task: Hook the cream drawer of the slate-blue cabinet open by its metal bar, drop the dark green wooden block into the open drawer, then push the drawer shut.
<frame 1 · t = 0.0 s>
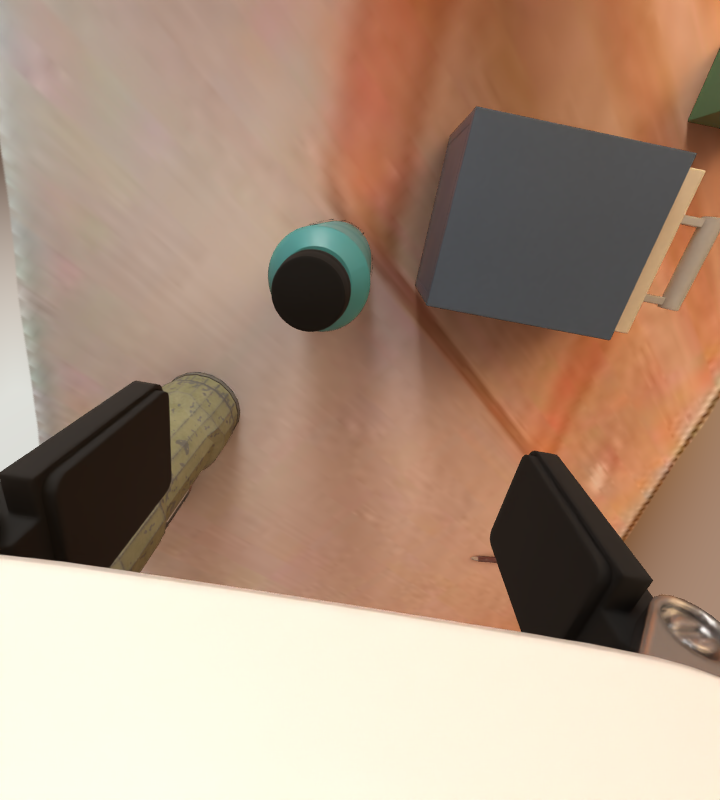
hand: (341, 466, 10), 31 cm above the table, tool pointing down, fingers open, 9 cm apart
beverage bottle: (339, 256, 38), on the table
drawer: (582, 244, 32), point 5 cm above the table, slide at 0.5 cm
pen: (511, 557, 54), on the table
cabinet: (508, 231, 36), on the table
thermos: (203, 407, 45), on the table
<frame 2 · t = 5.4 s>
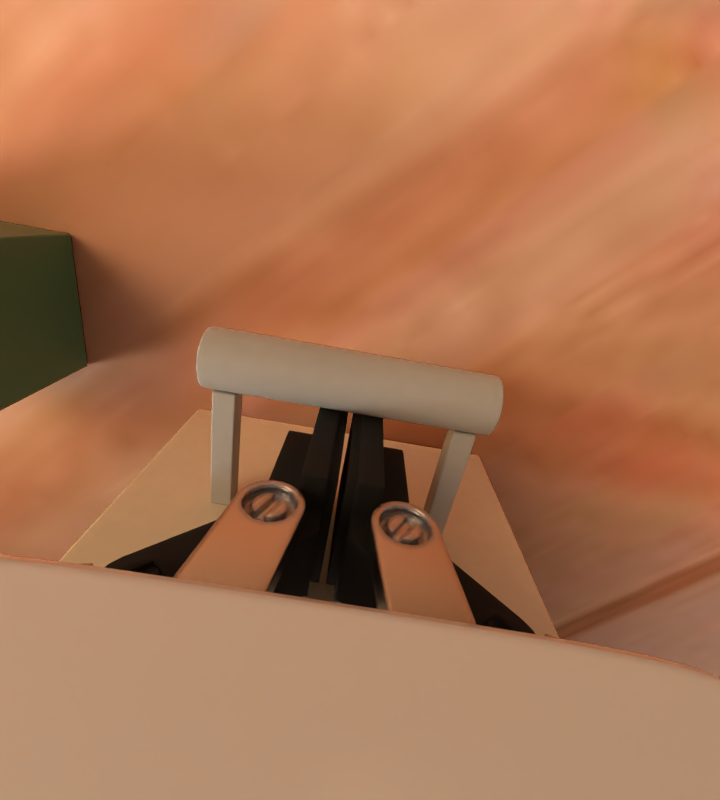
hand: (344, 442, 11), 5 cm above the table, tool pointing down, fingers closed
block: (12, 292, 15), on the table
drawer: (314, 588, 14), point 5 cm above the table, slide at 2.5 cm
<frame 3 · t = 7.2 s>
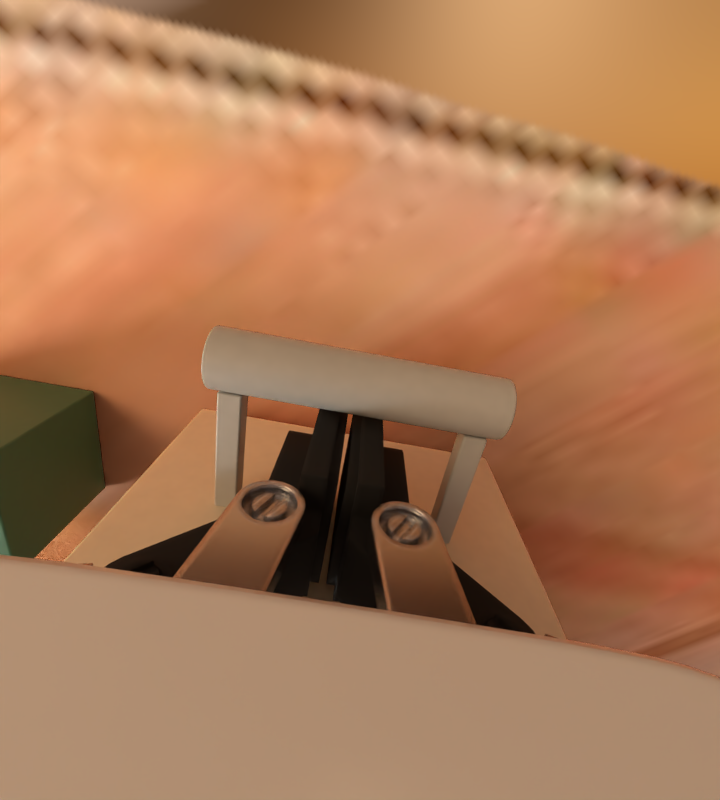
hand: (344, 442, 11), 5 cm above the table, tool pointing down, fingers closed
block: (42, 432, 17), on the table
drawer: (318, 592, 14), point 5 cm above the table, slide at 8.6 cm
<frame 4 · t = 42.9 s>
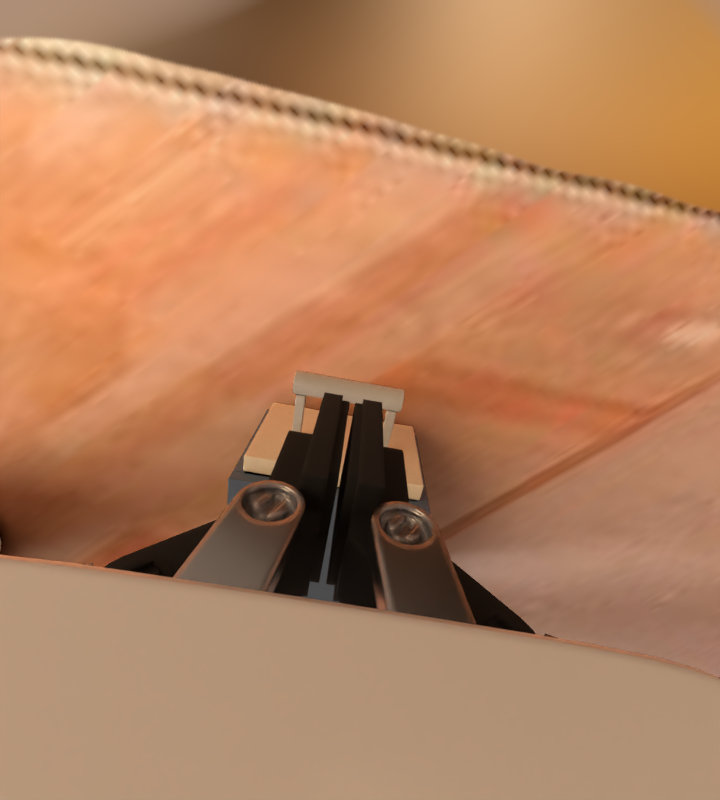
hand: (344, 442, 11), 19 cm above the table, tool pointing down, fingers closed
drawer: (331, 486, 30), point 5 cm above the table, slide at 0.0 cm, touching block
cabinet: (329, 491, 36), on the table
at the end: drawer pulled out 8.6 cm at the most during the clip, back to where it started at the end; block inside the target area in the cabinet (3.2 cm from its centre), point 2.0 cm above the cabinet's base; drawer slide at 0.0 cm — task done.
